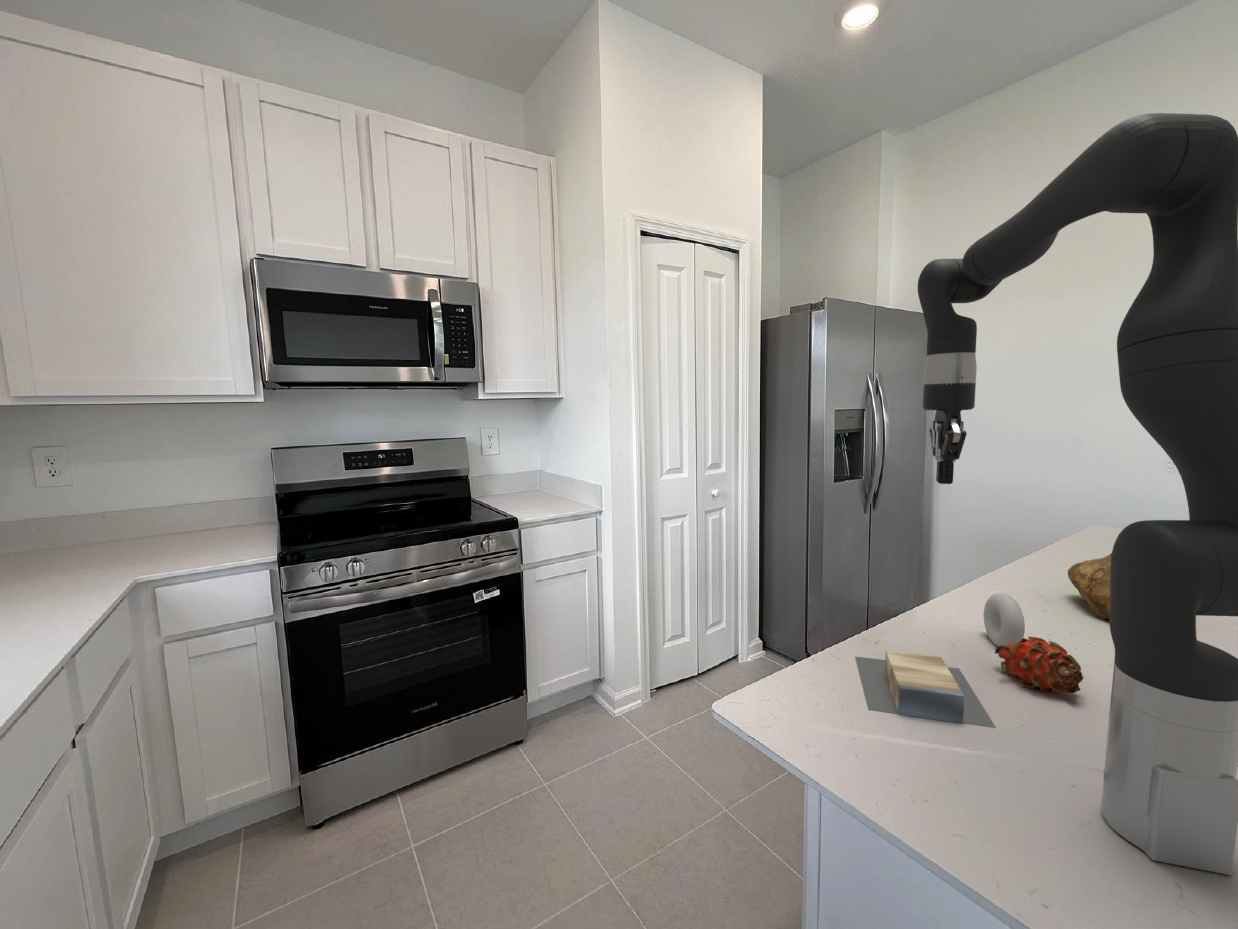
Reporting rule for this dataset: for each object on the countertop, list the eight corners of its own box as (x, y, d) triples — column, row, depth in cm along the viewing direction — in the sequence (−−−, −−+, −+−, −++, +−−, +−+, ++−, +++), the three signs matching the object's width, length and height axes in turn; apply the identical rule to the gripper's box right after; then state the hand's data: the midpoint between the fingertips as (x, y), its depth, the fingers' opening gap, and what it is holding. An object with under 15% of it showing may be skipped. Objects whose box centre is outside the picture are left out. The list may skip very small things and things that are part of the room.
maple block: (939, 680, 85) (962, 723, 74) (884, 673, 88) (898, 714, 76) (941, 656, 85) (964, 696, 73) (885, 650, 87) (900, 688, 76)
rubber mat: (996, 732, 73) (996, 727, 73) (868, 713, 78) (868, 709, 78) (958, 671, 89) (958, 668, 89) (854, 659, 94) (854, 656, 94)
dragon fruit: (1084, 720, 78) (997, 692, 89) (1106, 675, 81) (1020, 653, 92) (1059, 681, 76) (974, 657, 87) (1083, 636, 79) (997, 618, 90)
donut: (1027, 661, 92) (1031, 605, 91) (1004, 659, 93) (1008, 604, 92) (998, 636, 102) (1001, 585, 101) (978, 635, 102) (981, 584, 101)
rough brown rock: (1084, 591, 126) (1081, 529, 125) (1185, 605, 113) (1183, 536, 112) (1049, 618, 113) (1046, 549, 112) (1159, 639, 99) (1156, 560, 99)
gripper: (989, 379, 82) (982, 490, 84) (962, 382, 95) (957, 478, 97) (934, 381, 85) (929, 488, 87) (915, 383, 97) (911, 477, 99)
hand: (944, 483), depth 92 cm, fingers closed
